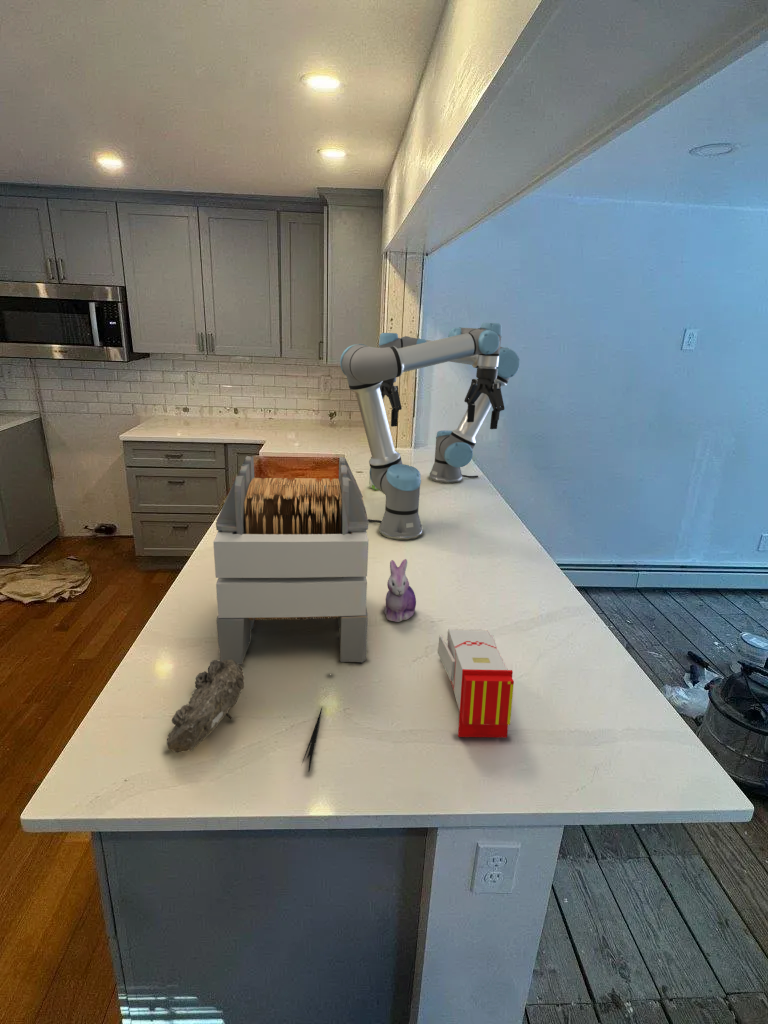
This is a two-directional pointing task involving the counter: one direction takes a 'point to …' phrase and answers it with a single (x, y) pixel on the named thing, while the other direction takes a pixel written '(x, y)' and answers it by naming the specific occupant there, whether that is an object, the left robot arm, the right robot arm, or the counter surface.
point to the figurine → (399, 594)
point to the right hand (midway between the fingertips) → (385, 423)
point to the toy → (478, 682)
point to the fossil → (206, 705)
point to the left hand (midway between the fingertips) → (481, 425)
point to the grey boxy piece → (291, 558)
